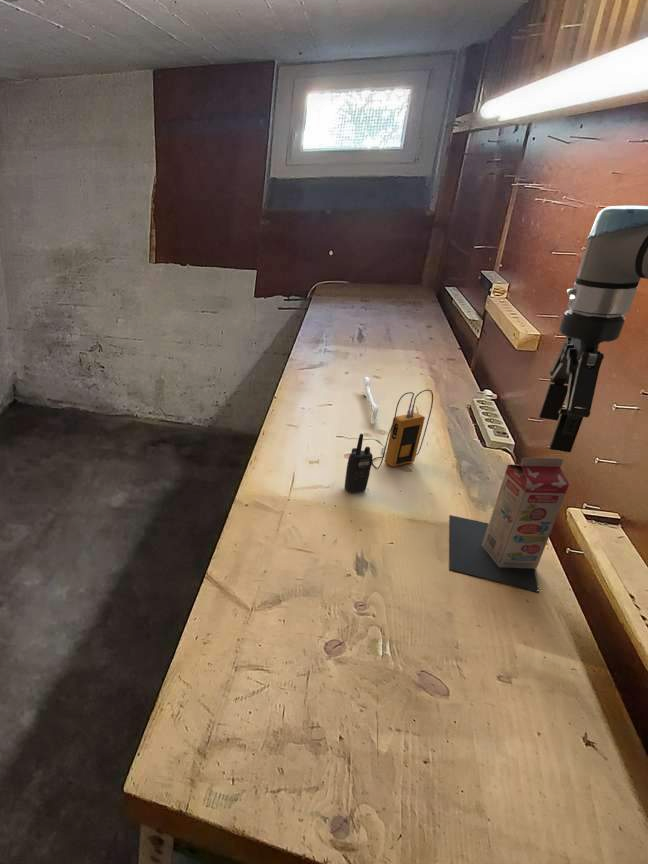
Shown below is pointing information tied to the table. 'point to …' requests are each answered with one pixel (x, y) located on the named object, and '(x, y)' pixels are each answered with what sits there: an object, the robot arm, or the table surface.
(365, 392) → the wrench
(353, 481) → the two-way radio
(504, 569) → the edge mat
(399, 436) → the multimeter
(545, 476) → the juice carton
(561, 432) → the robot arm
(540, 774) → the table surface
